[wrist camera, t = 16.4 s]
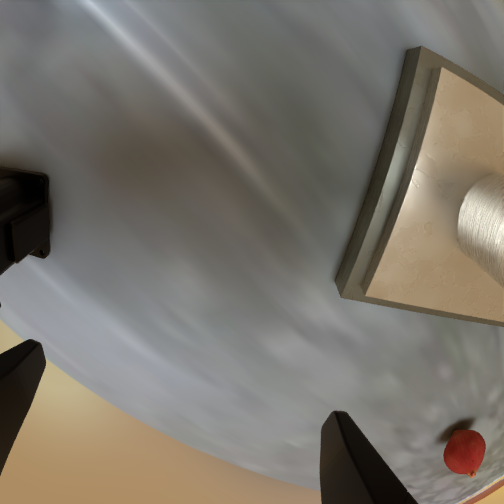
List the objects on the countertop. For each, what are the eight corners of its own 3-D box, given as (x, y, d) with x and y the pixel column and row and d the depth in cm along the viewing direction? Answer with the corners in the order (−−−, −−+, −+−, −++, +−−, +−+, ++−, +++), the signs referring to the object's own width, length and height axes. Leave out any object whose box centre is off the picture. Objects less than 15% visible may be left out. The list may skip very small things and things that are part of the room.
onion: (481, 414, 30) (503, 459, 23) (460, 438, 32) (477, 481, 25) (450, 420, 30) (470, 470, 23) (429, 445, 32) (445, 492, 25)
